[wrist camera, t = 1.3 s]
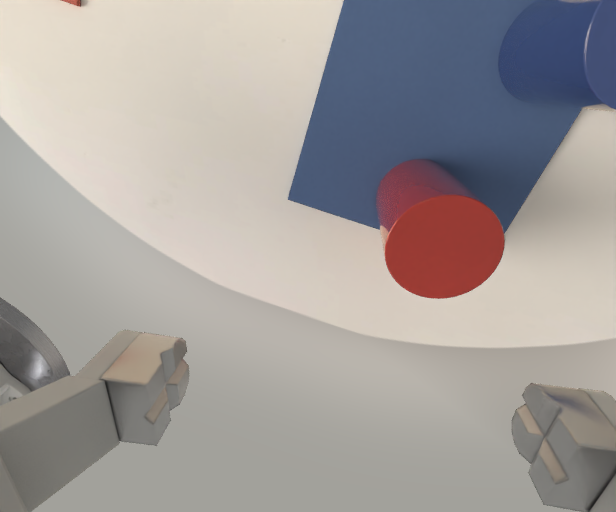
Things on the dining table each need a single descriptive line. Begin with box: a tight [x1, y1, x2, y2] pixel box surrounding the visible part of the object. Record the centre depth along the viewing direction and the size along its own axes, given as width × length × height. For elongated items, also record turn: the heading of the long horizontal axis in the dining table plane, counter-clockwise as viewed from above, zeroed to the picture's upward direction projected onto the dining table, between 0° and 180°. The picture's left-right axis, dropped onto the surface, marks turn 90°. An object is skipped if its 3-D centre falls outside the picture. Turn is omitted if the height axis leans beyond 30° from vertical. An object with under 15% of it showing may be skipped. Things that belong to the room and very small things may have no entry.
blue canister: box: [498, 0, 616, 112], centre depth 18 cm, size 6×6×10 cm
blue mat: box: [288, 0, 582, 233], centre depth 26 cm, size 19×18×1 cm
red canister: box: [376, 159, 505, 299], centre depth 24 cm, size 6×6×10 cm
